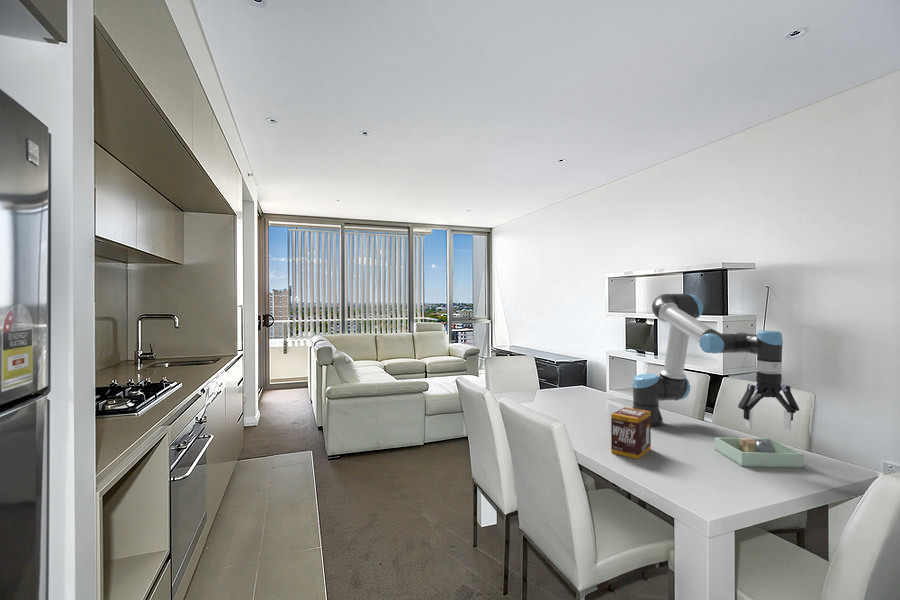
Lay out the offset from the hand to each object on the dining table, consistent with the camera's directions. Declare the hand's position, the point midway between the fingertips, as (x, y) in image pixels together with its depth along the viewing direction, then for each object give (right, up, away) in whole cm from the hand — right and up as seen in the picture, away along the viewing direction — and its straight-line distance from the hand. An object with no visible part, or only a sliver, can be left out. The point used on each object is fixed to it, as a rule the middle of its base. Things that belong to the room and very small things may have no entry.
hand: (767, 428), depth 157 cm
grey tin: (-2, -12, -1) cm, 12 cm away
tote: (-2, -13, +4) cm, 13 cm away
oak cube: (-1, -12, +7) cm, 14 cm away
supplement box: (-46, -13, +12) cm, 49 cm away
